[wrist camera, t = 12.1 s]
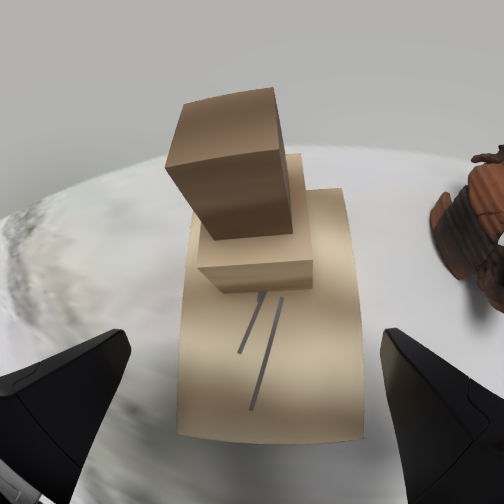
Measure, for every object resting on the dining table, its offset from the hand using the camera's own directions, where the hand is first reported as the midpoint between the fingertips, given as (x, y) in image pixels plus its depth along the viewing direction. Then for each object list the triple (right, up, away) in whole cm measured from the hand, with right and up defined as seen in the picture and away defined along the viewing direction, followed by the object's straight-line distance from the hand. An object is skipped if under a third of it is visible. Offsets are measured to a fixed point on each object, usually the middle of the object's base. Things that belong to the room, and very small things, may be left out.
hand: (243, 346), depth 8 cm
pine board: (+1, -1, +8) cm, 8 cm away
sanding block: (+1, +4, +8) cm, 9 cm away
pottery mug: (+17, +3, +6) cm, 18 cm away
